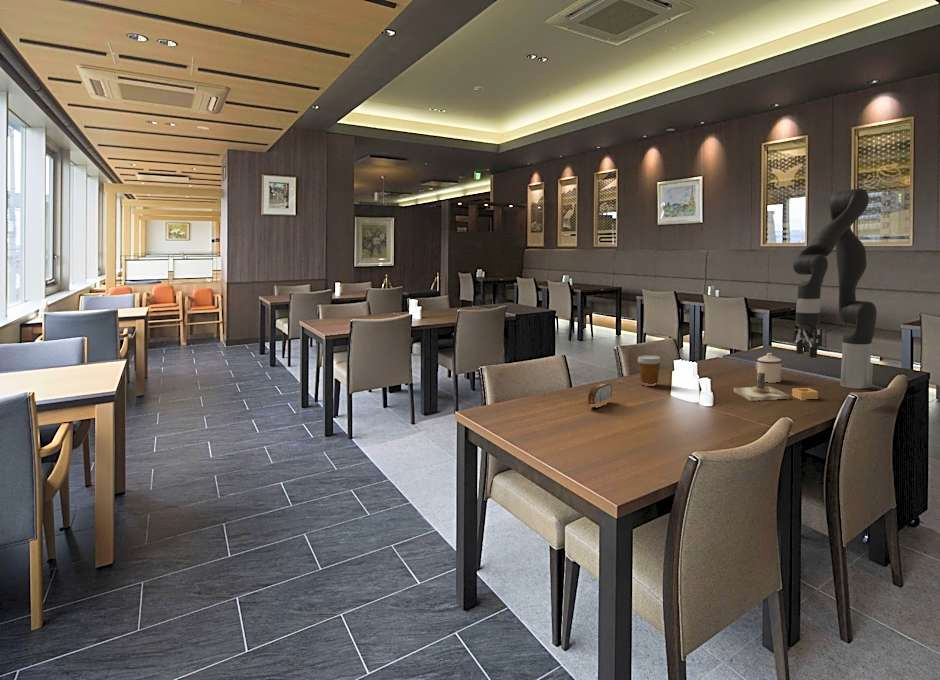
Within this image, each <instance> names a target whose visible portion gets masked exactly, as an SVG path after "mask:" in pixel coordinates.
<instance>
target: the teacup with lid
mask: <svg viewBox="0 0 940 680" xmlns="http://www.w3.org/2000/svg"><path fill="white" fill-rule="evenodd" d="M782 362H783V360H782V359H781V358H779V357H777V356H775V355H773V353H772V352H767V353H766V355H763V356H761V357H758V358H757V360H756V363H755V369H756V371H757V378H756V380H758V373H765V382H768V383H767V384H776V382H778V383H780V382H781V377H782Z"/></svg>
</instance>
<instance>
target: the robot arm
mask: <svg viewBox="0 0 940 680" xmlns="http://www.w3.org/2000/svg"><path fill="white" fill-rule="evenodd" d="M869 198H870V196H869V194H868V192H867V190H866V189H864V188H853V189H846V190H839V191H835V192H833V193H832V194H831V195H830V199H829V212H830V218H831V221H830V222H829V223H828V224H826V225H824V226H823V227H822V228H821V229H820V230H819V231H818V233H817V234H816V235H815V237H814V238H813V240H812V241H811V243H810V244H809V245H807V247H806V246H805V247H806V248H804V249H803V250H802V251H801V252H800V253H798V255H797V256H796V257H795V258H794V260H793V263H792V269H793V271H794V273H796V274H797V275H801V276H802V275H803V276H804V275H805V276H809V275H811V276H810V278H809V280H806V281H801V282H799V283H798V286H797V299H796V306H795V324H794V325H793V331H792V341H793V342H794V343H795V344H796V347H795V348H796V350H795V353H796V354H799V355H800V354H801V355H802V354H804V342H805V341H806V342H807V343H808V344H809V358H810V359H816V358H818V357H817V356H818V348H819V347H822V346H823V329H821V328H817V326H819V325H820V323H821V310H822V308H821V307H822V306H821V304H822V302H821V290H822V289H821V287H822V285H823V282H824V278H825V275H826V273H827V271H828V268H829V261H828V259H827V257H828V256H829V255H830V254H831V253H832V251H833V250H834V248H835V254H836V255H835V256H836V266H837V275H838V276H837V277H838V317H839V319H840V321H841V322H842V323H843V324H845V325H852V326H855V328H854V330H853V332H849V333H846V334H843V336H842V347H841V348H842V351H841V365H840V366H841V368H840V370H841V371H840V384H839V385H840V386H841V387H843V388H846V389H847V388H848V389H854V390H855V389H856V390H858V389H861V390H863V389H869V388H872V386H873V371H874V363H873V362H871V360H872V359H871V358H872V344H873V338H874V336H875V331H876V321H877V314H878V313H877V307H876V305H875V303H874V302H872V301H866V300H865V301H863V300H857V297H856V296H857V295H856V293H857V292H856V289H857V285H858V283H859V281H860V279H862V276H863V275H864V272H865V271H866V268H867V252H866V247H865V245H864V244H863V242H862V241H861V240H860V239H859V238H858V236H857V234H855V233H854V232H853V230H852V228H851V226H852V225H853V224H854V223H855V222H856V221H857V220H858V219H859V218H860V217H861V216H862V215H863V213H864V212H865V211H866V209H867V208H868V205H869V203H870V202H869V201H870V199H869Z"/></svg>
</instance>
